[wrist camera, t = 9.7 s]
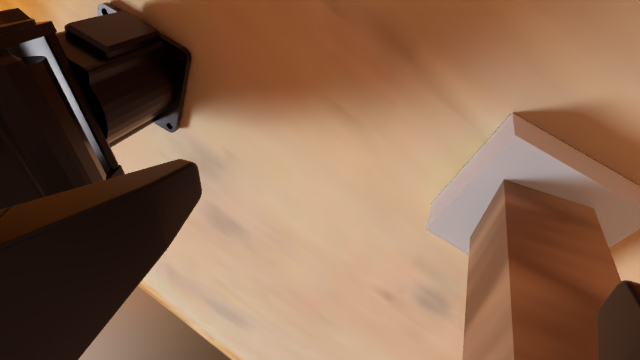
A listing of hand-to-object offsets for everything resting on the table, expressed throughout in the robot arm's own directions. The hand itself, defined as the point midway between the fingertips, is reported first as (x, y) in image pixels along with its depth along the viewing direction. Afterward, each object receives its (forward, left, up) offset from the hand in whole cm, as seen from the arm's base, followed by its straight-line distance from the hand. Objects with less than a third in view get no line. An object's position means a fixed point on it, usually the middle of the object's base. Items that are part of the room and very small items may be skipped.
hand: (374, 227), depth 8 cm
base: (-4, -8, -13) cm, 16 cm away
